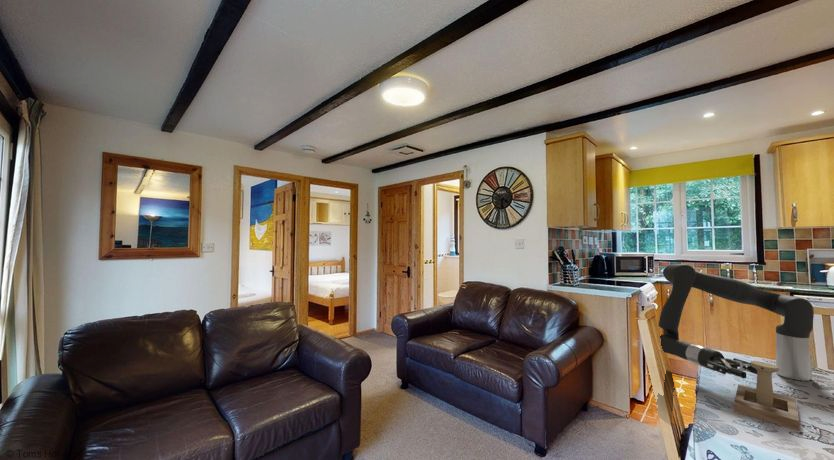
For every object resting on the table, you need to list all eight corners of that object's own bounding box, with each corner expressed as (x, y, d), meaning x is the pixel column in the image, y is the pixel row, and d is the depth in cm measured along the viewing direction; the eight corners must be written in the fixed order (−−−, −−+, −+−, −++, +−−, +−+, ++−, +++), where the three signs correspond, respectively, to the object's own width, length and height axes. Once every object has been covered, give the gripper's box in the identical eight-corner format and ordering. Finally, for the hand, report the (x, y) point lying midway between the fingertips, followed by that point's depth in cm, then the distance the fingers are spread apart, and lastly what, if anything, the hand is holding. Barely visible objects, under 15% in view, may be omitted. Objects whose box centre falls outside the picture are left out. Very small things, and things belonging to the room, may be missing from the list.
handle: (776, 415, 106) (776, 369, 106) (749, 406, 111) (748, 362, 111) (780, 411, 108) (780, 366, 108) (753, 402, 114) (753, 359, 114)
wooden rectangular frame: (738, 392, 121) (738, 384, 121) (795, 407, 111) (795, 398, 111) (734, 411, 108) (734, 402, 108) (799, 430, 98) (799, 420, 98)
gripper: (689, 348, 127) (739, 365, 111) (718, 346, 130) (770, 361, 114) (689, 368, 126) (739, 387, 111) (718, 365, 130) (770, 383, 114)
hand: (755, 374), depth 112 cm, fingers open, 8 cm apart
